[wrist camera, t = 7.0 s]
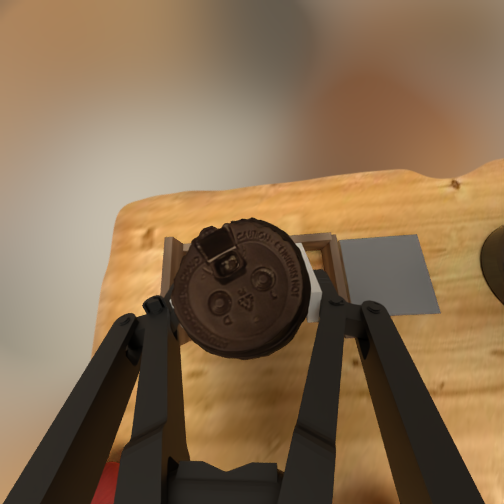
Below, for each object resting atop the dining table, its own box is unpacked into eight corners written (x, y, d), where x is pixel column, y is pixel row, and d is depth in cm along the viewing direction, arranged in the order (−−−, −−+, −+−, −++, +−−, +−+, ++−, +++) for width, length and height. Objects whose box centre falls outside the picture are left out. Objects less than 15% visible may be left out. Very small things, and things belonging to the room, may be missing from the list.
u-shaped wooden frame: (326, 243, 29) (348, 222, 21) (341, 332, 26) (373, 345, 18) (190, 253, 31) (164, 237, 23) (187, 338, 27) (156, 353, 19)
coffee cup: (230, 251, 24) (185, 197, 11) (295, 261, 23) (326, 213, 10) (214, 322, 22) (139, 351, 9) (285, 337, 21) (309, 395, 8)
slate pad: (410, 237, 28) (416, 234, 27) (432, 312, 25) (440, 313, 24) (336, 242, 29) (339, 240, 28) (350, 316, 26) (353, 317, 25)
